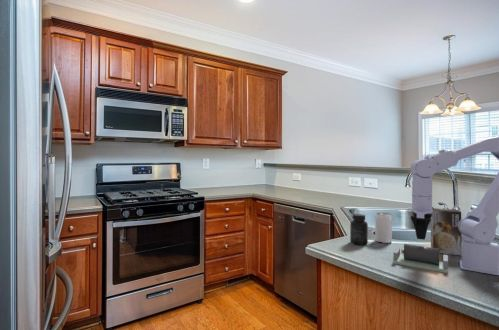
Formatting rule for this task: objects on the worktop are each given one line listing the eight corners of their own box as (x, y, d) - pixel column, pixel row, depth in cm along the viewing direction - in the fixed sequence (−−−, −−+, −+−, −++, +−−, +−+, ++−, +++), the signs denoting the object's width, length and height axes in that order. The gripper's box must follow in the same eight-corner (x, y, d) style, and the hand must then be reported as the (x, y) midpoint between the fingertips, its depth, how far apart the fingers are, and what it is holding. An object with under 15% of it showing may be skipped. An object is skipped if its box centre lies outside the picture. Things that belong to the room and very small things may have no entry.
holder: (447, 265, 95) (447, 254, 95) (447, 273, 88) (447, 261, 88) (396, 256, 103) (396, 247, 103) (393, 263, 97) (393, 253, 97)
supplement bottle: (354, 240, 125) (354, 212, 125) (370, 243, 120) (370, 214, 120) (347, 243, 120) (347, 214, 120) (363, 246, 116) (363, 217, 115)
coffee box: (458, 251, 110) (458, 209, 110) (462, 256, 104) (462, 212, 104) (430, 247, 114) (430, 207, 114) (432, 252, 108) (432, 210, 108)
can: (372, 241, 123) (372, 213, 123) (378, 238, 128) (378, 211, 128) (388, 244, 119) (388, 215, 119) (394, 241, 123) (394, 213, 123)
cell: (439, 262, 95) (439, 247, 95) (439, 266, 91) (439, 250, 91) (402, 256, 101) (402, 242, 101) (400, 259, 97) (401, 245, 97)
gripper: (410, 192, 104) (410, 230, 104) (406, 197, 92) (405, 239, 92) (433, 194, 100) (433, 233, 100) (432, 198, 88) (431, 243, 88)
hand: (421, 236), depth 96 cm, fingers open, 7 cm apart
